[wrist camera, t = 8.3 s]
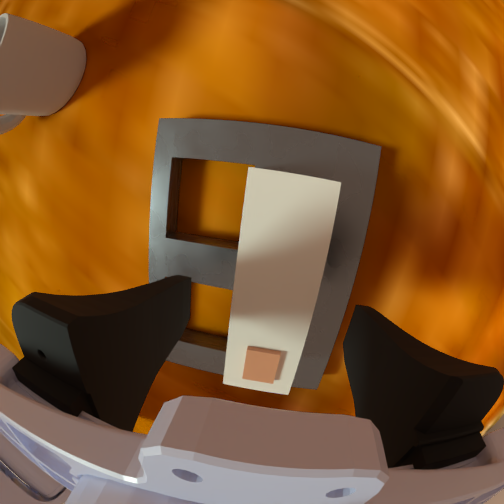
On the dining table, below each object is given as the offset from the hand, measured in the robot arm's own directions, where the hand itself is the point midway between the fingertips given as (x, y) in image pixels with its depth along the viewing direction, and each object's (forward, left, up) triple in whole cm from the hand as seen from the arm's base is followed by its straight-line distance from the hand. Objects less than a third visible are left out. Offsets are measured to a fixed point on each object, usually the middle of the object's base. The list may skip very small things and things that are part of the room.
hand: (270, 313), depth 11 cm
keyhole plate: (0, +2, -5) cm, 6 cm away
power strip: (0, 0, -5) cm, 5 cm away
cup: (+12, +21, -6) cm, 25 cm away
